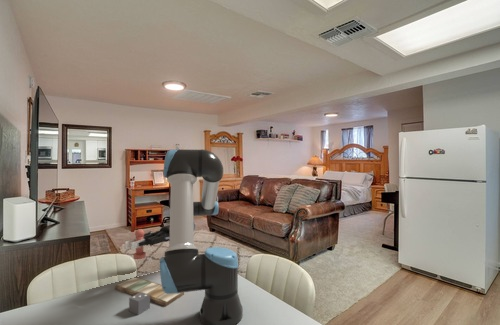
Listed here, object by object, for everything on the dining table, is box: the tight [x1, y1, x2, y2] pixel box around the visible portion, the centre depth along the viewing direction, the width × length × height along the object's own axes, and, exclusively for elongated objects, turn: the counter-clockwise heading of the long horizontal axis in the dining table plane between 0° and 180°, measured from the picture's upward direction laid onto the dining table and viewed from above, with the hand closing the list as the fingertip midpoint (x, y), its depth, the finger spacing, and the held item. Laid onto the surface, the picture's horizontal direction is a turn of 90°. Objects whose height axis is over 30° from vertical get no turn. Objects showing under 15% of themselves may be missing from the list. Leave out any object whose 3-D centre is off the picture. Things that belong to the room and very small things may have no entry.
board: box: [114, 276, 185, 307], centre depth 107 cm, size 30×10×1 cm, turn 63°
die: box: [128, 292, 151, 316], centre depth 93 cm, size 5×5×5 cm
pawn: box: [133, 228, 147, 260], centre depth 110 cm, size 5×5×12 cm
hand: (128, 245), depth 105 cm, fingers closed on pawn, 3 cm apart
